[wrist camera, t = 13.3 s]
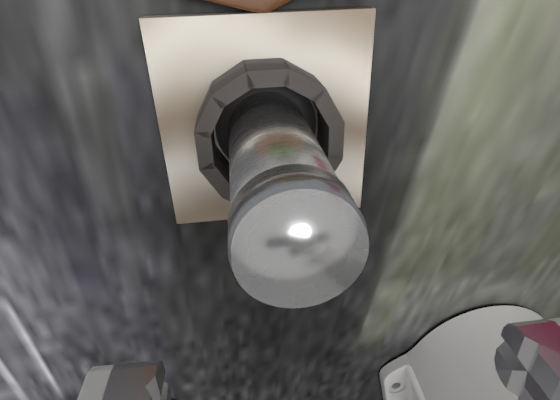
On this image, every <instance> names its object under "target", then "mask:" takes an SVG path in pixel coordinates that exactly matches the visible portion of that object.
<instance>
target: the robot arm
mask: <svg viewBox="0 0 560 400" xmlns="http://www.w3.org/2000/svg"><path fill="white" fill-rule="evenodd" d="M164 376H165V369H164V365H163V362H162V361H151V362H138V363H126V364H115V365H104V366H93V367H92V368H91V369H90V370H89V372H88V373H87V375H86V377H85V380H84V383H83V385H82V388H81V391H80V393H79V396H78V398H77V400H171V394H170V388H169V384H167V383H166V382H164ZM379 376H380V382H381V389H382V395H383V400H560V318H553V319H543V318H542V317H541V316H540V315H538V314H537V313H535V312H534V311H532V310H529V309H526V308H523V307H518V306H507V305H503V306H491V307H485V308H480V309H476V310H473V311H470V312H467V313H464V314H461V315H459V316H457V317H455V318H452V319H450V320H449V321H447V322H445V323H443V324H441V325H440V326H438V327H437V328H435V329H434V330H432V331H431V332H430V333H429V334H427V335H426V336H425V337H424V338H423V339H422V340H421V341H420V342H419V343H418V344H417V345H416V346H415V347H414V348H412V349H411V350H410V351H409V352H408V353H406V354H404V355H402V356H400V357H399V358H397V359H395V360H393V361H391V362H390V363H388V364H387V365H385V366H384V367H383V368H382V369H381V370H380V373H379Z"/></svg>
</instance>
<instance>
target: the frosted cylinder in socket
mask: <svg viewBox="0 0 560 400" xmlns="http://www.w3.org/2000/svg"><path fill="white" fill-rule="evenodd" d="M229 177H230V210H229V214H228V258H229V263H230V266H231V269H232V271H233V273H234V275H235V278H236V279H237V281H238V283H239V284H240V286H241V287H242V288H243V289H244V290H245V291H246V292H247V293H248V294H249V295H251V296H252V297H253V298H255V299H257V300H259V301H261V302H263V303H265V304H268V305H271V306H275V307H281V308H304V307H310V306H314V305H318V304H321V303H323V302H326V301H328V300H330V299H332V298H334V297H336V296H337V295H339V294H341V293H342V292H343V291H345V290H346V289H347V288H348V287H349V286H350V285H351V284H353V282H354V281H355V280H356V279H357V278H358V276H359V275H360V273H361V272H362V270H363V268H364V266H365V264H366V261H367V258H368V252H369V239H368V229H367V225H366V222H365V219H364V217H363V215H362V213H361V212H360V210H359V208H358V206H357V205H356V203H355V201H354V199H353V198H352V196H351V194H350V192H349V191H348V189H347V188H346V186H345V185H344V184H343V183H342V182H341V181H340V180H339V179H338V177H337V175H336V173H335V171H334V170H333V168H332V166H331V164H330V162H329V161H328V159H327V157H326V155H325V153H324V152H323V150H322V148H321V146H320V144H319V143H318V141H317V139H316V137H315V135H314V134H313V132H312V130H311V128H310V126H309V125H308V123H307V121H306V119H305V117H304V116H303V114H302V112H301V110H300V108H299V107H298V106H297V104H296V103H295V102H294V101H293V100H291V99H290V98H289V97H287V96H285V95H283V94H281V93H277V92H272V91H264V92H258V93H255V94H252V95H250V96H248V97H246V98H245V99H243V100H242V101H241V102H240V103H239V104H238V105H237V106H236V108H235V109H234V111H233V113H232V115H231V117H230V121H229Z"/></svg>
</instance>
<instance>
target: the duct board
mask: <svg viewBox="0 0 560 400" xmlns="http://www.w3.org/2000/svg"><path fill="white" fill-rule="evenodd" d="M375 15H376V8H373V7H368V6H361V7H338V8H315V9H291V10H273V11H271V12H267V13H256V12H251V11H245V12H221V13H198V14H175V15H152V16H143V17H141V18H139V22H140V27H141V33H142V38H143V44H144V49H145V54H146V60H147V65H148V71H149V76H150V81H151V87H152V92H153V98H154V103H155V108H156V114H157V119H158V125H159V130H160V135H161V141H162V146H163V152H164V157H165V162H166V168H167V173H168V179H169V184H170V189H171V195H172V200H173V206H174V211H175V216H176V222H177V224H183V223H194V222H206V221H217V220H228V214H229V210H230V177H229V121H230V117H231V115H232V113H233V111H234V109H235V108H236V106H237V105H238V104H239V103H240V102H241V101H242V100H243V99H245V98H246V97H248V96H250V95H252V94H255V93H258V92H264V91H272V92H277V93H281V94H283V95H285V96H287V97H289V98H290V99H291V100H293V101H294V102H295V103H296V104H297V106H298V107H299V108H300V110H301V112H302V114H303V116H304V117H305V119H306V121H307V123H308V125H309V126H310V128H311V130H312V132H313V134H314V135H315V137H316V139H317V141H318V143H319V144H320V146H321V148H322V150H323V152H324V153H325V155H326V157H327V159H328V161H329V162H330V164H331V166H332V168H333V170H334V171H335V173H336V175H337V177H338V179H339V180H340V181H341V182H342V183H343V184H344V185H345V186H346V188H347V189H348V191H349V192H350V194H351V196H352V198H353V199H354V201H355V203H356V205H357V206H358V208H360V205H361V193H362V180H363V167H364V155H365V142H366V129H367V116H368V104H369V91H370V78H371V65H372V53H373V40H374V27H375Z"/></svg>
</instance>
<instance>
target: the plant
mask: <svg viewBox="0 0 560 400" xmlns="http://www.w3.org/2000/svg"><path fill="white" fill-rule="evenodd" d="M203 1H208V2H213V3H217V4H221V5H225V6H230V7H234V8H238V9H242V10H246V11H251V12H256V13H267V12H271V11H273V10H275V9H277V8H279V7H281V6H283V5H285V4H287V3H288V2H290V1H292V0H203Z"/></svg>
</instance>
